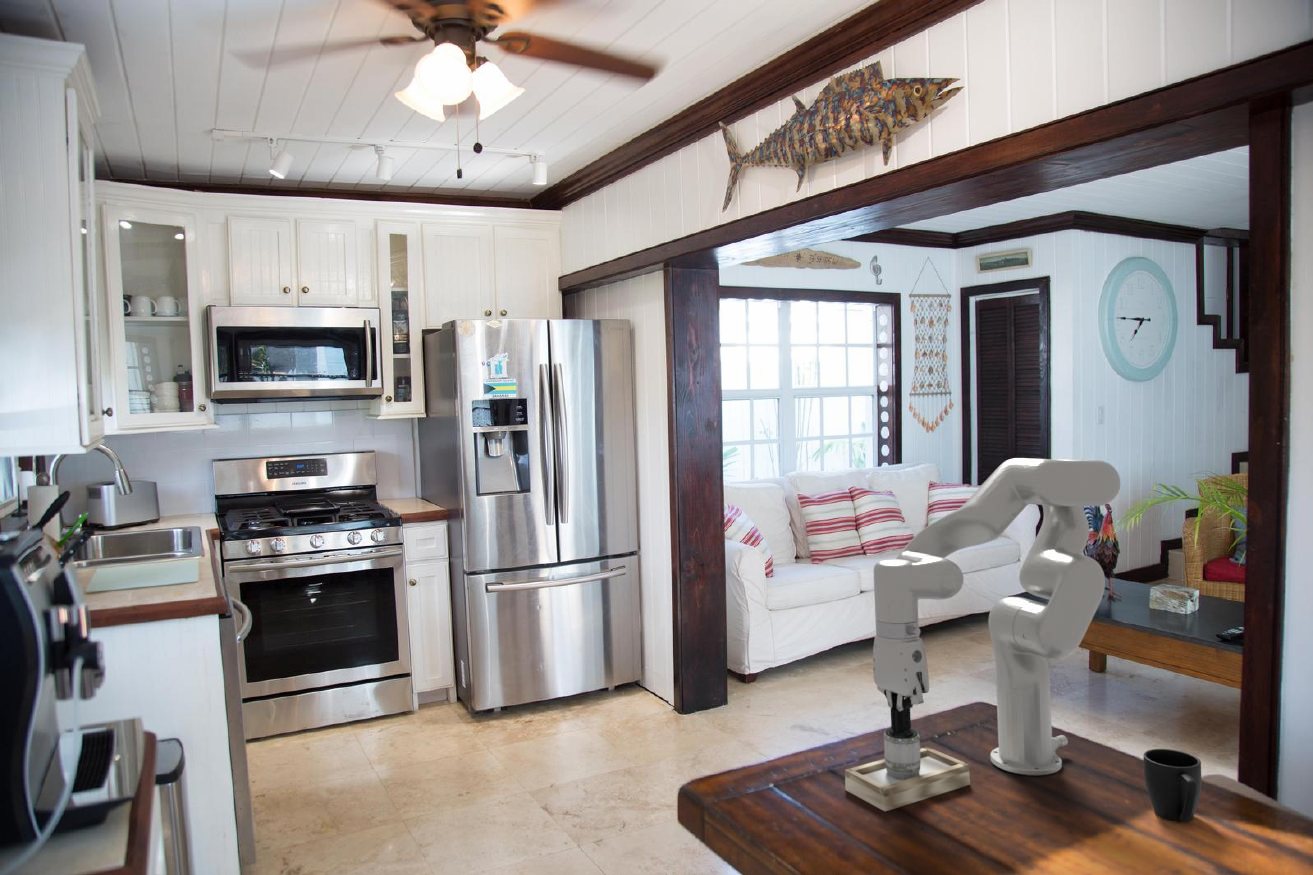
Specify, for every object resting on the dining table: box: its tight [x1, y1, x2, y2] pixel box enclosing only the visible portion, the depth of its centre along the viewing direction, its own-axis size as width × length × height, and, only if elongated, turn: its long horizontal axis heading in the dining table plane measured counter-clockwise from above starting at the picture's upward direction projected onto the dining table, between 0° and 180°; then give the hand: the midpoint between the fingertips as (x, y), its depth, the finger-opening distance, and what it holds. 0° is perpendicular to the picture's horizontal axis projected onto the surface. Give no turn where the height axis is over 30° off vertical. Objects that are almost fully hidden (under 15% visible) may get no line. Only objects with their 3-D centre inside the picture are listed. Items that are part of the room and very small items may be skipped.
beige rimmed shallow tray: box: [844, 746, 971, 812], centre depth 161 cm, size 20×10×4 cm, turn 117°
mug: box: [1142, 748, 1202, 823], centre depth 144 cm, size 8×12×10 cm
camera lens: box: [883, 727, 921, 779], centre depth 160 cm, size 6×6×8 cm
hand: (901, 729), depth 160 cm, fingers closed
